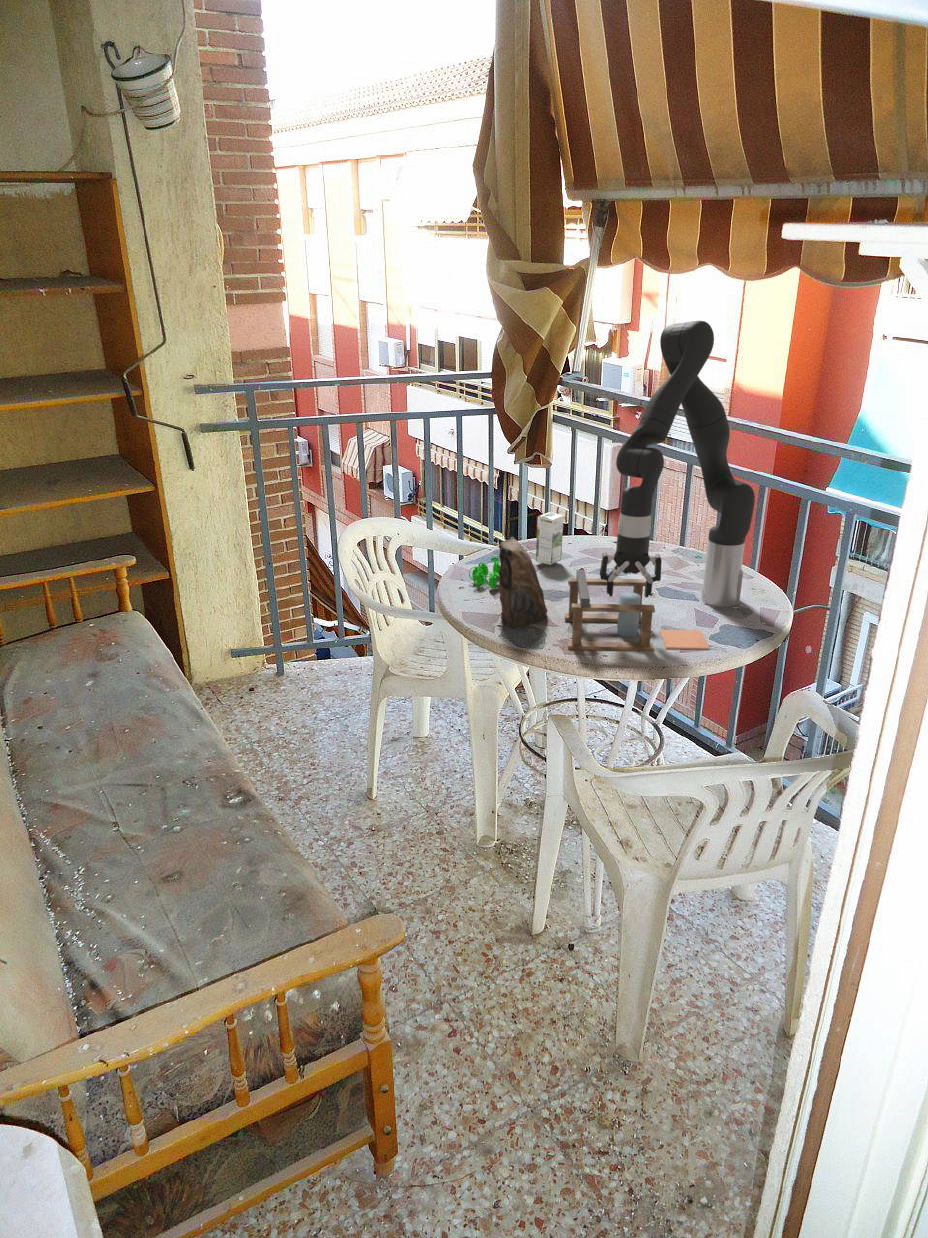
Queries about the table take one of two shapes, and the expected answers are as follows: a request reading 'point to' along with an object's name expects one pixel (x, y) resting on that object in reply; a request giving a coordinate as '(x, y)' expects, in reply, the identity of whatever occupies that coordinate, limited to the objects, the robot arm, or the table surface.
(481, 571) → the chandelier
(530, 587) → the brown pointed rock
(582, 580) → the bar
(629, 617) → the grey-blue cylinder
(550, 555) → the syrup box
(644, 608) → the gantry
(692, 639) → the terracotta tile
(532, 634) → the table surface
